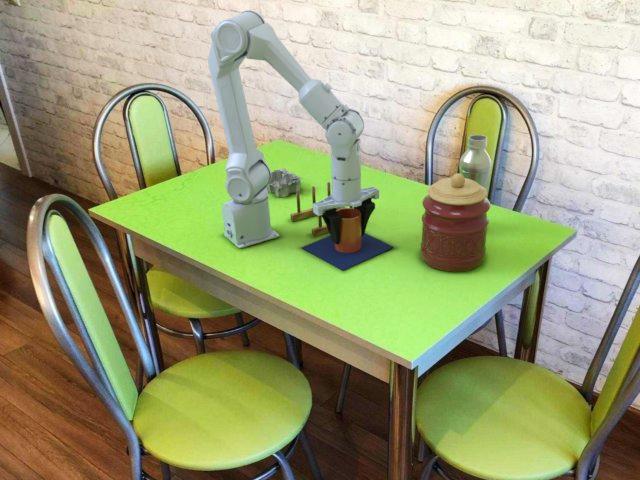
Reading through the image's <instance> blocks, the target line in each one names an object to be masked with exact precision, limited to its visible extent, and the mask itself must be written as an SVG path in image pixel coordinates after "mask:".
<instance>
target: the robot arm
mask: <svg viewBox="0 0 640 480" xmlns="http://www.w3.org/2000/svg"><path fill="white" fill-rule="evenodd" d="M210 38H211V43H210V44H211V45H210V47H209V53H208V58H207V66H208V70H209V75H210V78H211V82H212V87H213V91H214V94H215V95H214V96H215V100H216V103H217V107H218V112H219V115H220V121H221V124H222V128H223V133H224V136H225V141H226V145H227V150H228V154H229V155H228V158H227V162H226V164H225V174H226V180H225V190H226V192H227V194H228V196H229V197H230V200H228V201H225V202H224V203H222V205H221V214H222V215H221V216H222V222H223V230H224V232H223V236H224V237H226V238H227V239H228V240H229V241H230V242H231V243H233V245H235V246H236V247H237V248H239V249H243V248H247V247H249V246H254V245H256V244H260V243H262V242H267V241H270V240H273V239H277V238H279V237H280V234H279V233H278V232H276V231H275V230H274V229H273V228H272V225H271V213H270V203H269V192H268V189H267V185H268V184H269V183H270V181H271V177H272V174H271V172H272V170H271V167H270V166H269V164H268V163H267V162H266V160H265V158H264V153H263V152H262V151H261V150H260V149H258V148H257V145H256V142H255V137H254V132H253V127H252V122H251V118H250V114H249V110H248V105H247V100H246V96H245V91H244V87H243V81H242V77H241V71H240V66H241V65H242V63H243V62H244V61H245V59H247V60H255V61H264V62H266V63H268V65H269V66H271V67H272V69H274V70H275V71H276V73H278V74H279V75H280V76H281V77H282V78H283V79H284V80H285V81H286V82H287V83H288V84H289V85H291V87H292V88H294V90H295V91H296V92H297V93H298V94H297V95H298V103H300V105H301V106H302V108H304V110H305V111H307V113H308V114H310V116H311V117H312V118H313V119H314V120H315V121H316V122H317V123H318V124H319V126H321V128H323V129H324V130H325V132H324V136H325V139H326V141H327V143H328V144H329V146H330V169H331V170H330V171H331V172H330V173H331V195H330V196H328V195H327V196H326V197H324V198H323V199H321V200H319V201H316V203H314V204H313V203H312V208H313V213H315V214H316V215H315V216H317V217H318V216H320V215H321V216H322V221H323V222H324V224H325V225H326V226H327V228H328V231H329V232H328V233H329V236H330V237H331V241H332V242H334V243H335V244H339V243H340V224H341V220H342V216H341V215H339V214H338V211H336V209H339V208H342V207H345V208H348V207H350V206H352V207H353V209H357V210H359V211H360V212H361V236H364V233H366V229H367V225H368V223H369V220H370V218H371V215H372V213H373V212H374V211H375V209H376V203H375V202H374V201H372V199H373V200H379V199H380V189H379V188H377V187H375V186H371V187H363V188H362V158H361V157H362V153H361V138H360V137H361V136H362V134H363V132H364V130H365V129H364V128H365V122H364V119H363V117H362V115H361V114H360V112H359V111H358V110H356V109H354V108H351V107H349V106H348V105H347V104H344V103H343V102H342V101H341V100H340V99H339V98H338V97H337V95H336V94H335V93H334V92H333V91H332V88H333V87H332V85H331V84H330V83H329V82H326V83H325V82H324V81H323V80H322V79H314V78H311V76H310V75H309V74H308V73H307V72H306V70H305V69H304V68H303V66H302V65H301V64H300V63H299V62H298V60H297V59H296V58H295V57H294V55H292V53H291V51H289V49H288V48H287V47H286V46H285V45H284V44H283V42H282V41H281V39H280V38H279V37H278V35H277V33H276V32H275V29H274V28H273V26H272V25H271V24H270V23H268V22H266V20H265V19H264V17H263V16H262V15H261V14H260V13H259V12H257V11H255V10H252V9H248V10H243V11H242V12H240V13H239V14H236V15H234V16H231V17H229V18H223V19H222V20H221V21H219V22H218V24H216V26H215V27H214V28H213V30H212V31H211V32H210Z"/></svg>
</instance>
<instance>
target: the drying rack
mask: <svg viewBox="0 0 640 480" xmlns="http://www.w3.org/2000/svg"><path fill="white" fill-rule="evenodd" d="M326 190H327V191H326V192H327V197H328V196H330V195H332V190H331V182H329V181H327V183H326ZM295 194H296V196H295V197H296V212H294V213H290V215H289V218H290V221H291V222H296V221H301V220H304V219H308V218H312V217H314V216H317V218H318V219H317V220H318V226H317V227H314V228H311V229H310V230H311V236H312V237H314V238H315V237H318V236H321V235H324V234H327V233H329V231H328V228H327V226H326V224H324V225H323V218H322V216H321V215H320V216H318V215H316V214H315V213H313V207H311V208H308V209H304V210H301V199H300V198H301V195H300V194H301V193H300V192H299V191H298V190H297V191H296V193H295ZM311 197H312V198H311V199H312V200H311V201H312V205H313V204H314V203H317V200H316V199H317V198H316V187H315V186H314V185H313V186H311ZM342 208H346V207H342ZM342 208H339V209H342ZM349 208H353V207H352V206H349ZM353 209H354V208H353ZM336 210H338V209H336Z"/></svg>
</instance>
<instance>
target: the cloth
mask: <svg viewBox="0 0 640 480" xmlns="http://www.w3.org/2000/svg"><path fill="white" fill-rule="evenodd" d="M361 241H362V244H361V249H360V250H358V251H356V252H353V253H342V252H339V251H337V250H336V249H335V245H334V242H332V241H331V237H330V235H328V236H325V237H323V238H321V239H318V240H316V241H313V242H311V243H308V244H305V245H303V246H301V249H302V250H304V251H306V252H307V253H309V254H311V255H312V256H315V257H317V258H318V259H319V260H322V261H324V262H326V263H328V264H329V265H331V266H333V267H335V268H337V269H339V270H340V271H342V272H344V271H346V270H349V269H351V268H353V267H355V266H357V265H360V264H362V263H364V262H367V261H368V260H370V259H373V258H376V257H377V256H380V255H381V254H384V253H386V252H389V251H391V250H393V249H394V248H395V246H394V245H391V244H389V243H387V242H385V241H383V240H381V239H378V238H376V237H375V236H372V235H370V234H368V233H366V232H365V233H364V236H361Z"/></svg>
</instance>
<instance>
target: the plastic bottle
mask: <svg viewBox="0 0 640 480" xmlns="http://www.w3.org/2000/svg"><path fill="white" fill-rule="evenodd" d="M487 143H488V137H487V136H486V135H483V134H472V135H469V136H468V140H467V144H466V145H467V150H466V151H464V153H463V154H462V155H461V156H460V159H459V161H458V163H459V164H458V167H459V174H462V175H463V176H464V178H466V179H470V180H473V181H475V182H477V183H478V184H479V185H481V186H482V187H484V188H485V189H486V190H487V188H488V182H489V177H490V173H491V170H492V169H491V168H492V158H491V157H490V155H489V153H488V151H487V150H486V149H487V148H488V144H487Z"/></svg>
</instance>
